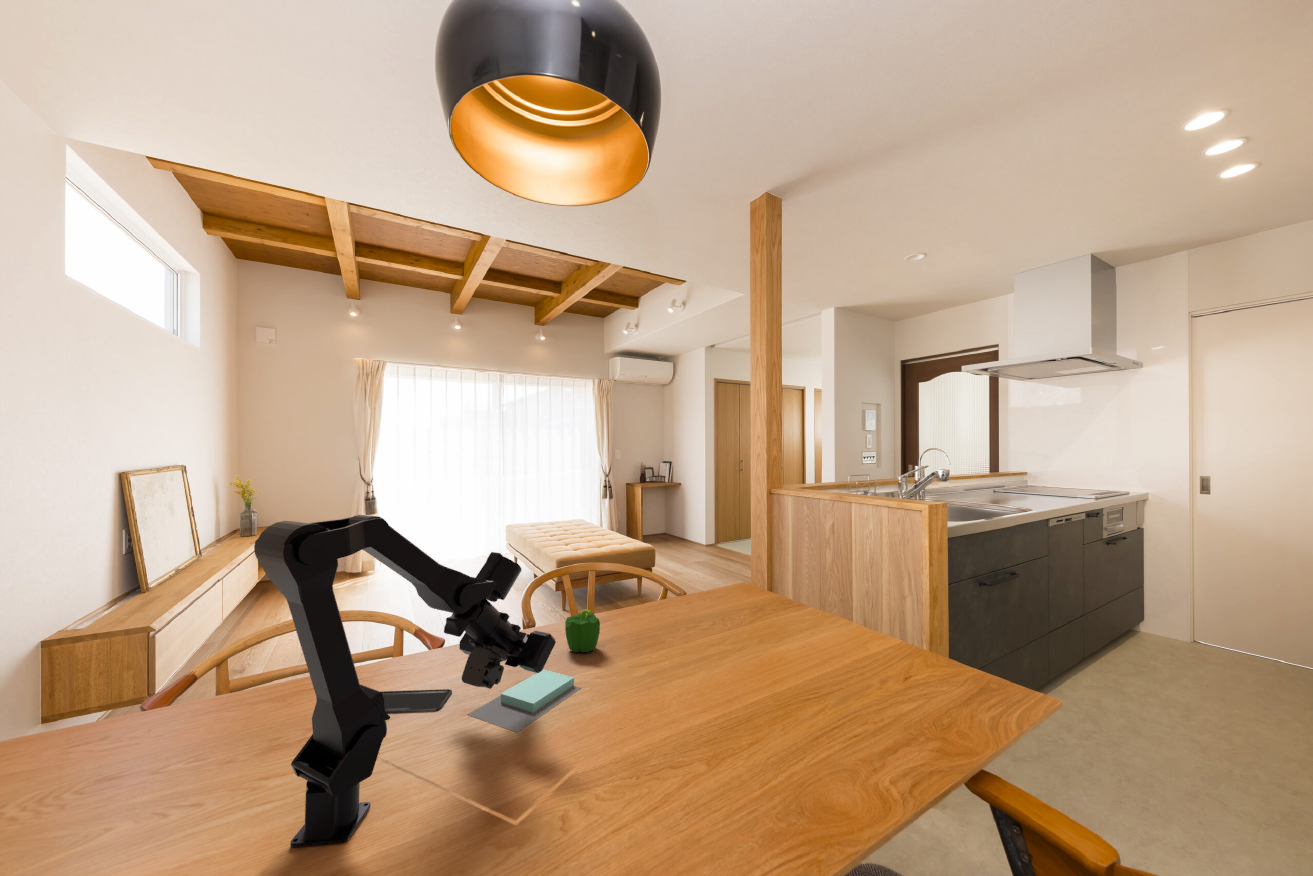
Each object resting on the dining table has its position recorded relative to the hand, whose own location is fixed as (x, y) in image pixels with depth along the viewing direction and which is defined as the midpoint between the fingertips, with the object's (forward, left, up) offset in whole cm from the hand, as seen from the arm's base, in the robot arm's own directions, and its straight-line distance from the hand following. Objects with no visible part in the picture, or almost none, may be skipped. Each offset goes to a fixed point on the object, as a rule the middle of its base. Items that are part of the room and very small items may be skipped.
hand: (528, 664), depth 93 cm
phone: (+2, +23, -8) cm, 24 cm away
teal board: (-2, +2, -6) cm, 7 cm away
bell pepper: (+25, -9, -7) cm, 27 cm away
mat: (0, 0, -7) cm, 7 cm away
